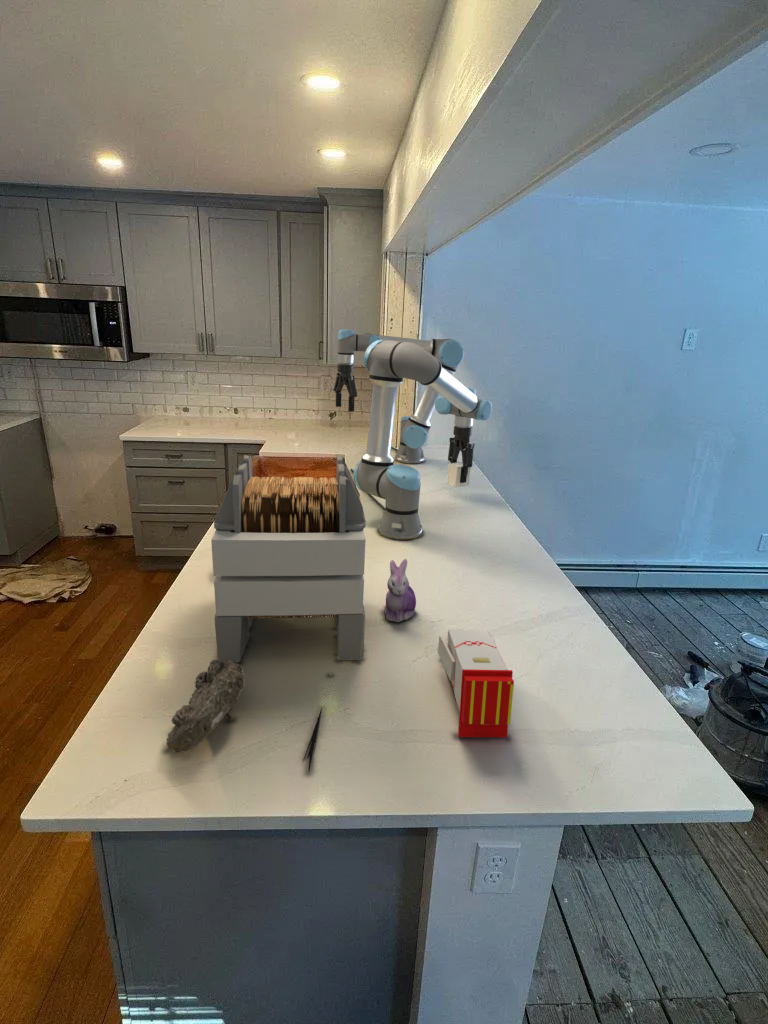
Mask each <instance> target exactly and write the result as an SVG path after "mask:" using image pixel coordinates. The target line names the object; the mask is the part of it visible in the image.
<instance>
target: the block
mask: <svg viewBox="0 0 768 1024" xmlns="http://www.w3.org/2000/svg"><path fill="white" fill-rule="evenodd" d="M447 466H448V467H447V476H446V485H449V486H450V487H454V488H463V487H468V486H469V485H470V477H471V467H469V468H468V474H467V478H466V482H465V483H460V476H461V468H462V467H463V463H462V461H457V463H450V462H449V463H448V465H447Z"/></svg>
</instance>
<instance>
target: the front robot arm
mask: <svg viewBox="0 0 768 1024" xmlns="http://www.w3.org/2000/svg"><path fill="white" fill-rule="evenodd" d="M363 364H364V367H365V370H366V371H367V372H368V373H369V376H368V380H369V381H370V383H371V384H372V391H371V400H370V411H369V420H368V421H369V422H368V432H367V441H366V452H365V453H364V454H363V455H362V456H361V460H359V461H358V462H357V464H356V465H355V466H354V468H350V471H351V473H352V478H353V481H354V483H355V485H356V487H357V489H358V490H360V491H361V492H364V493H365V494H366V495H368V496H369V497H370V498H371V500H372V501H374V502H375V503H376V505H378V506H379V507H380V508H381V509H382V510H383V512H384V513H383V515H382V519H381V522H379V525H378V533H379V534H380V535H381V536H382V537H385V538H387V539H389V540H395V541H410V540H415V539H418V538H420V537H421V536H422V535H423V525H422V524H421V518H420V515H419V507H420V506H419V505H420V496H421V495H420V494H421V482H422V481H421V474H420V471H418V470H417V468H414V467H413V466H410V465H406V464H405V465H403V464H399V463H397V464H394V462H395V459H394V458H393V457H392V455H391V451H392V449H391V447H392V443H393V433H394V425H395V416H396V415H395V414H396V404H397V396H398V388H399V387H400V386H401V385H402V384H403V381H404V379H405V380H406V379H408V380H412V381H415V382H417V383H419V384H420V385H422V386H424V387H426V386H427V385H428V386H430V387H431V388H432V389H433V390H435V391H436V392H437V393H439V394H440V395H441V396H439V397H438V398H437V399H436V401H435V411H436V412H437V413H438V414H439V415H442V416H443V415H445V416H447V415H453V416H454V422H453V425H454V426H453V435H454V437H449V438H448V439H449V445H448V446H449V447H448V454H447V461H448V462H449V463H458V459H459V456H460V452H461V462H462V463H463V467H462V468H461V476H460V483H465V482H466V478H467V474H468V468H469V467H470V468H472V467H473V460H474V448H475V443H472V442H471V440H470V439H471V438H470V437H472V435H473V425H474V420H477V421H488V420H489V418H491V415H492V413H493V405H492V402H491V401H489V400H486V399H481V398H479V396H477V390H476V389H475V388H473V387H468V386H467V387H466V386H465V385H464V384H463V383H462V382H461V381H459V380H458V379H457V378H455V377H454V376H453V374H451V375H450V374H449V373H448V372H447V371H446V370H445V369H443V368H442V365H441V363H440V361H439V360H437V359H436V358H435V357H434V356H433V355H431V354H430V353H429V352H427V351H426V350H424V349H423V348H421V347H420V346H418V345H416V344H414V343H410V342H401V341H392V340H377V341H374V342H373V343H372V344H371V345H370V346H369V347H368V348H367V350H366V352H364V355H363ZM375 497H377V498H379V499H382V500H385V504H384V505H385V507H384V505H382V504H381V503H380V502H379V501H378V500H377V499H376V498H375Z"/></svg>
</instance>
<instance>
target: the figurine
mask: <svg viewBox="0 0 768 1024" xmlns="http://www.w3.org/2000/svg"><path fill="white" fill-rule="evenodd" d="M407 567H408V559H406V558H404V559H403V560H402V561H401V563H400V565H399V566H398V565H397V563H396V562H395V561H394V560H393V559H391V560H390V561H389V570H390V576H389V578H388V579H387V589H388V591H387V592H386V594H385V595H386V596H385V607H384V615H385V616H386V620H387V621H391V622H395V623H400V622H402V621H406V620H409V619H410V618H411V617H413V616H414V615H415V610H416V606H417V597H416V593H415V591H414V590H413V587H411V586H410V582H409V579H408V577H407V574H406V571H407Z"/></svg>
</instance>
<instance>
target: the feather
mask: <svg viewBox="0 0 768 1024" xmlns="http://www.w3.org/2000/svg"><path fill="white" fill-rule="evenodd" d="M329 675H330V676H331V675H332V674H331V673H330V674H329ZM322 710H323V707H321V708H320V710H319V713H318V716H317V719H316V723H315V725H314V728H313V731H312V733H311V737H310V739H309V742H308V745H307V748H306V751H305V754H304V757H303V760H302V763H301V767H302V765H303V763H304V761H305V758H308V759H309V760H308V762H307V763H308V764H307V766H308V771H310V770H311V766H312V765H311V764H312V760H313V757H315V756H314V755H315V751H316V749H315V746H317V739H318V733H319V729H320V722H321V717H322V712H323V711H322ZM313 754H314V755H313ZM306 755H307V757H306Z"/></svg>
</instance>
